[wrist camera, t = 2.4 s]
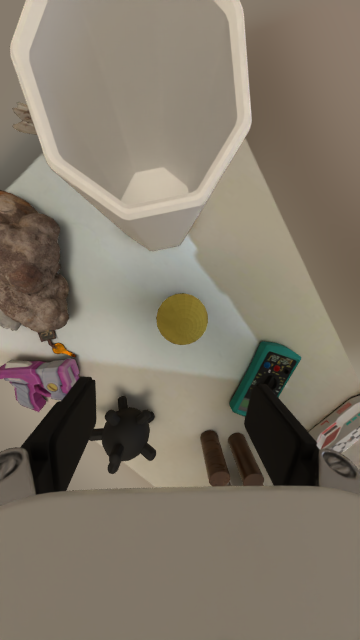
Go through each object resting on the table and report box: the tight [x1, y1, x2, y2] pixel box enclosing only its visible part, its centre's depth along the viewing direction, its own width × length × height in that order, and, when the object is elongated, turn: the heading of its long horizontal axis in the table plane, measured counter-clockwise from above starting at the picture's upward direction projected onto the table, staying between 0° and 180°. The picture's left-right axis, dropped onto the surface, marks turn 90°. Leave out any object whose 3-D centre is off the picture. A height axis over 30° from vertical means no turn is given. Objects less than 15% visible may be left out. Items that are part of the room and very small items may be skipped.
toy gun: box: [0, 359, 80, 412], centre depth 30 cm, size 3×11×10 cm
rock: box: [0, 190, 69, 332], centre depth 24 cm, size 18×12×10 cm, turn 27°
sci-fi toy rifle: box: [308, 396, 360, 453], centre depth 37 cm, size 4×6×30 cm
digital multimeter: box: [229, 341, 301, 417], centre depth 34 cm, size 7×15×3 cm, turn 159°
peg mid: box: [200, 430, 230, 486], centre depth 34 cm, size 4×4×8 cm
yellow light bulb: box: [156, 293, 208, 345], centre depth 26 cm, size 7×7×10 cm
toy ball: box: [89, 396, 156, 474], centre depth 31 cm, size 11×11×12 cm
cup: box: [10, 0, 252, 251], centre depth 17 cm, size 11×11×18 cm
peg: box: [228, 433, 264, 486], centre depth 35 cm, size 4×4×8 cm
